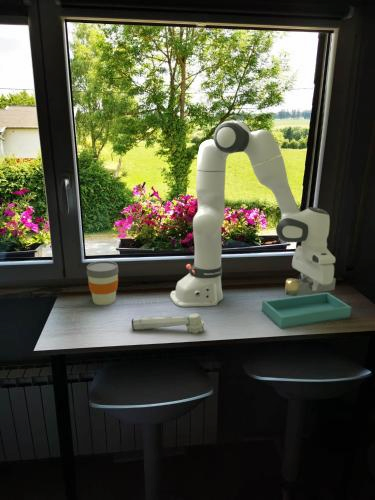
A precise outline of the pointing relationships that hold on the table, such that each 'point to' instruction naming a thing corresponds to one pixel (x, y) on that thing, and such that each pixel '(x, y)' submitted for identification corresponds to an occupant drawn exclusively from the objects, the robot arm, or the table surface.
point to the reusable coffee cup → (103, 281)
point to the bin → (305, 310)
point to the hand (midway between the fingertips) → (309, 287)
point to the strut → (305, 286)
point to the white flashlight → (169, 322)
